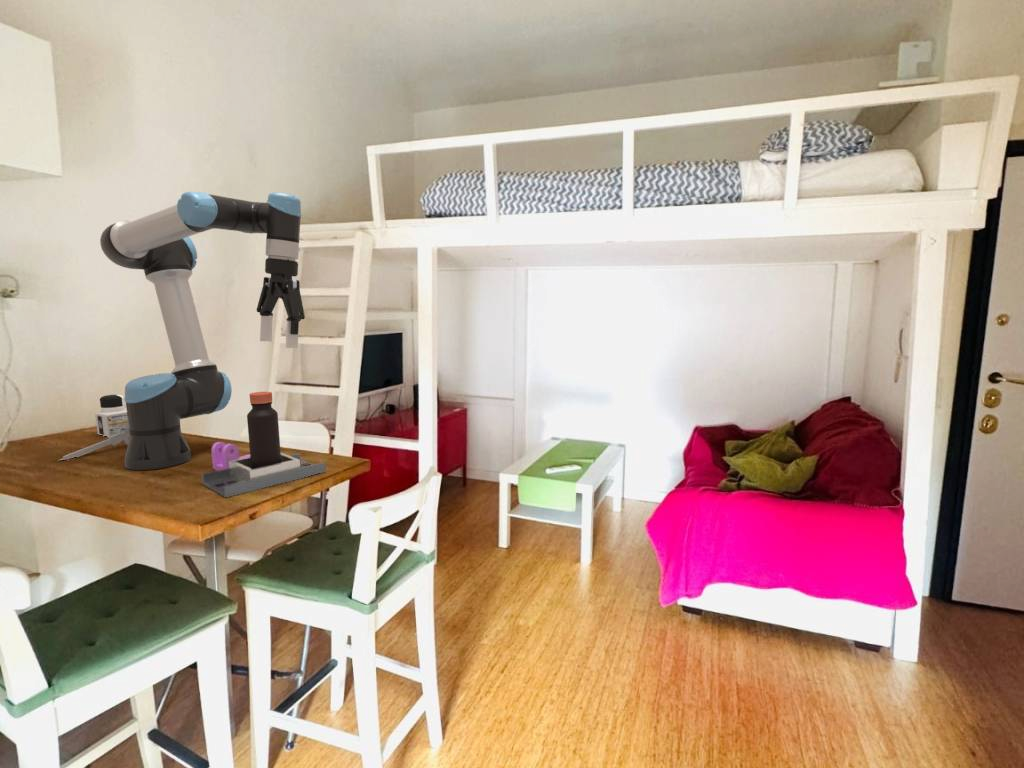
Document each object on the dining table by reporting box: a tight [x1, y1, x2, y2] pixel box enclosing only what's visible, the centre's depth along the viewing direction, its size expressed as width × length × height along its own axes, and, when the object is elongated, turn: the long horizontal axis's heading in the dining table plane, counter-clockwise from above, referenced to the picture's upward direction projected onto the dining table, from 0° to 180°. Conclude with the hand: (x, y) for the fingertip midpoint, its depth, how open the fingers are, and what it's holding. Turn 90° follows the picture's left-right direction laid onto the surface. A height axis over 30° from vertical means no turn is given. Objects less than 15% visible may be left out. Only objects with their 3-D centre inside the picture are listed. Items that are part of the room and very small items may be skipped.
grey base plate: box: [201, 452, 326, 498], centre depth 137 cm, size 14×24×4 cm, turn 137°
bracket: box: [210, 441, 250, 471], centre depth 149 cm, size 13×6×7 cm, turn 152°
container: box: [94, 394, 129, 438], centre depth 184 cm, size 8×8×13 cm
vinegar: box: [246, 391, 282, 469], centre depth 136 cm, size 7×7×20 cm
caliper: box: [59, 426, 130, 460], centre depth 162 cm, size 20×1×6 cm, turn 154°
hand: (278, 344), depth 142 cm, fingers open, 13 cm apart
